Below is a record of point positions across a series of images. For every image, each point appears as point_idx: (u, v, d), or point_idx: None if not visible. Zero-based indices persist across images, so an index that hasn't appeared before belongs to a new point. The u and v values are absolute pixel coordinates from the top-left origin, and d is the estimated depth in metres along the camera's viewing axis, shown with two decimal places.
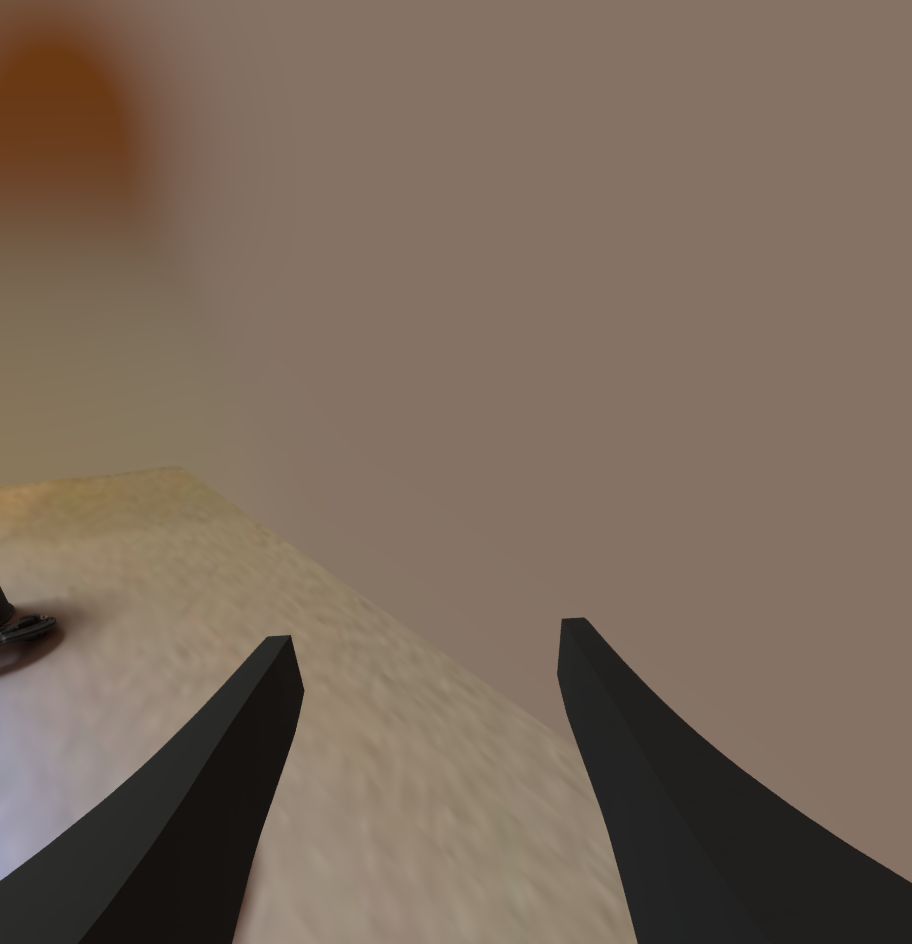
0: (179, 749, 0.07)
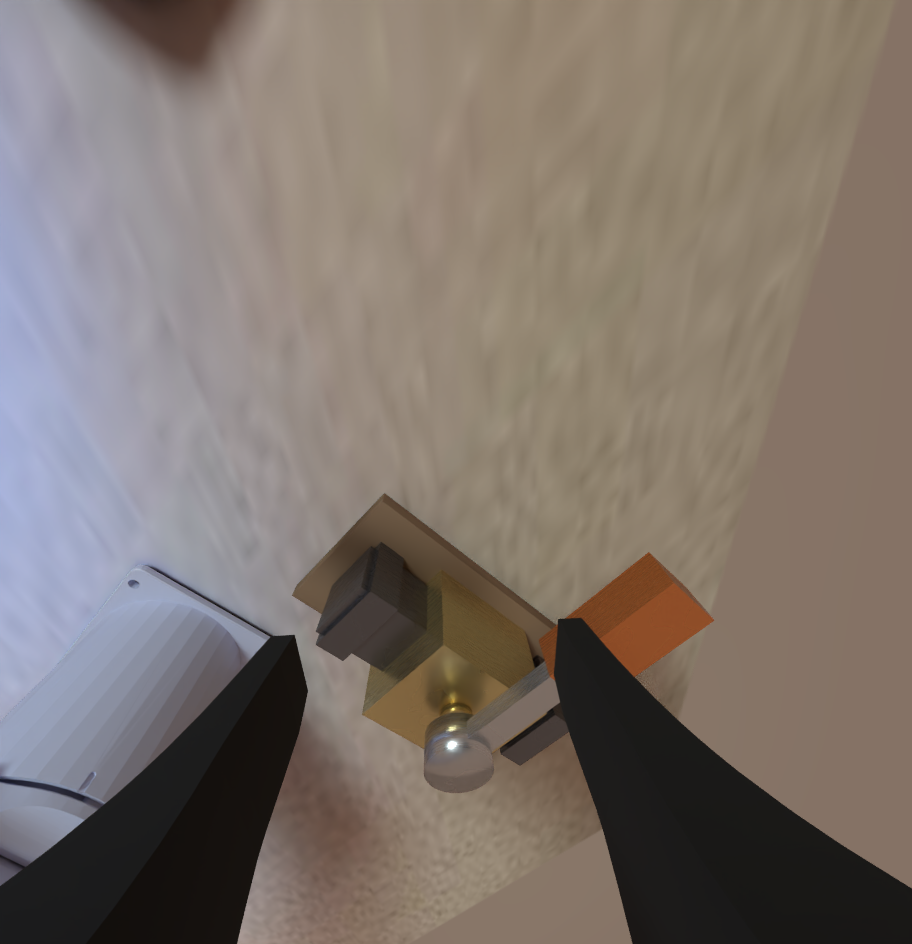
0: (184, 750, 0.07)
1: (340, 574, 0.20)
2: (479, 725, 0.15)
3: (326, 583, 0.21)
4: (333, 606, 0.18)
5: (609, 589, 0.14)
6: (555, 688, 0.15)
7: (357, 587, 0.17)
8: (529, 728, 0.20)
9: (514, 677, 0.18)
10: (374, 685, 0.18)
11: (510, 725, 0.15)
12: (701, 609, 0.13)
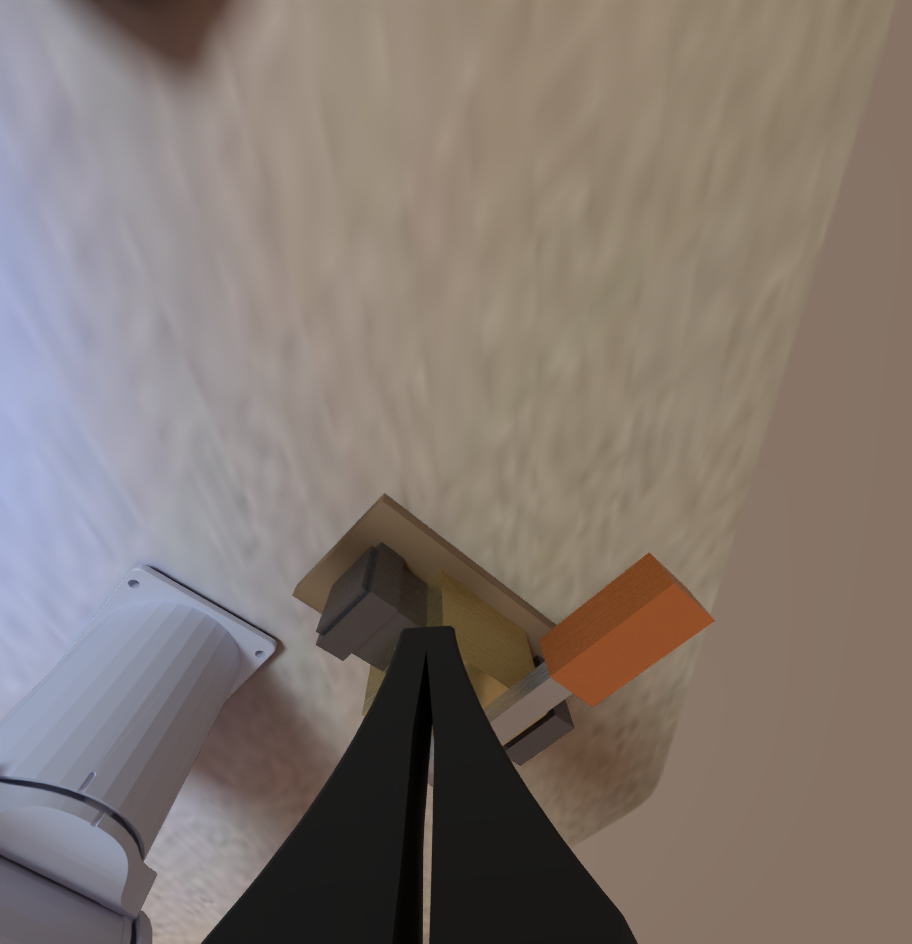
0: (377, 736, 0.08)
1: (340, 574, 0.20)
2: None
3: (326, 583, 0.21)
4: (333, 606, 0.18)
5: (609, 589, 0.14)
6: (555, 688, 0.15)
7: (357, 587, 0.17)
8: (529, 728, 0.20)
9: (514, 677, 0.18)
10: (374, 685, 0.18)
11: (510, 725, 0.15)
12: (701, 609, 0.13)
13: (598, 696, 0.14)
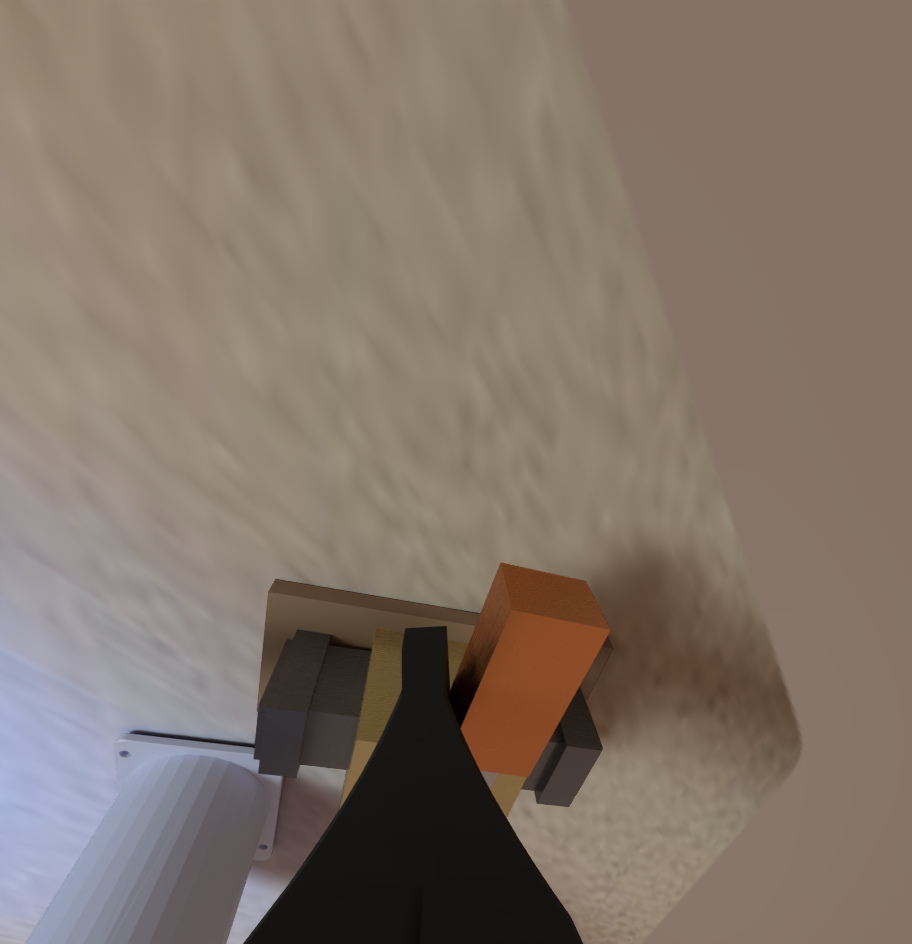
0: (405, 735, 0.08)
1: None
2: None
3: None
4: None
5: (478, 626, 0.10)
6: None
7: None
8: (551, 767, 0.17)
9: None
10: (343, 789, 0.16)
11: None
12: (581, 624, 0.09)
13: (526, 764, 0.10)
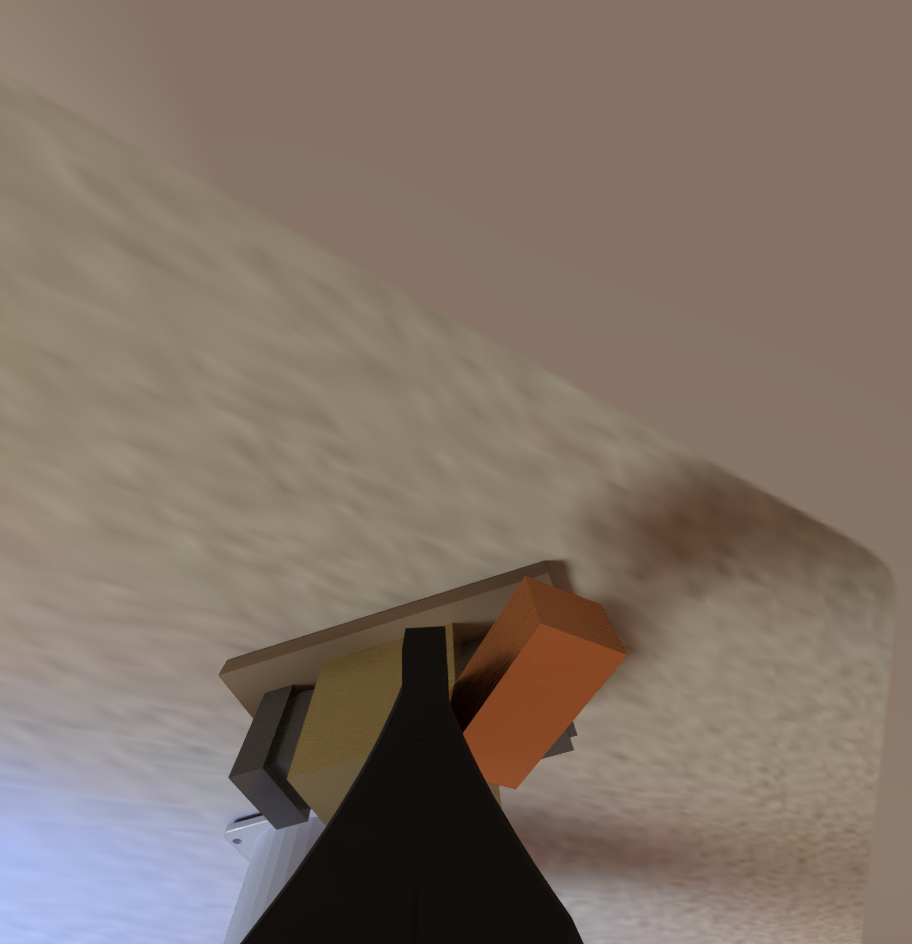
0: (403, 734, 0.08)
1: None
2: None
3: None
4: None
5: (491, 634, 0.11)
6: None
7: None
8: None
9: None
10: None
11: None
12: (601, 645, 0.09)
13: (516, 777, 0.11)
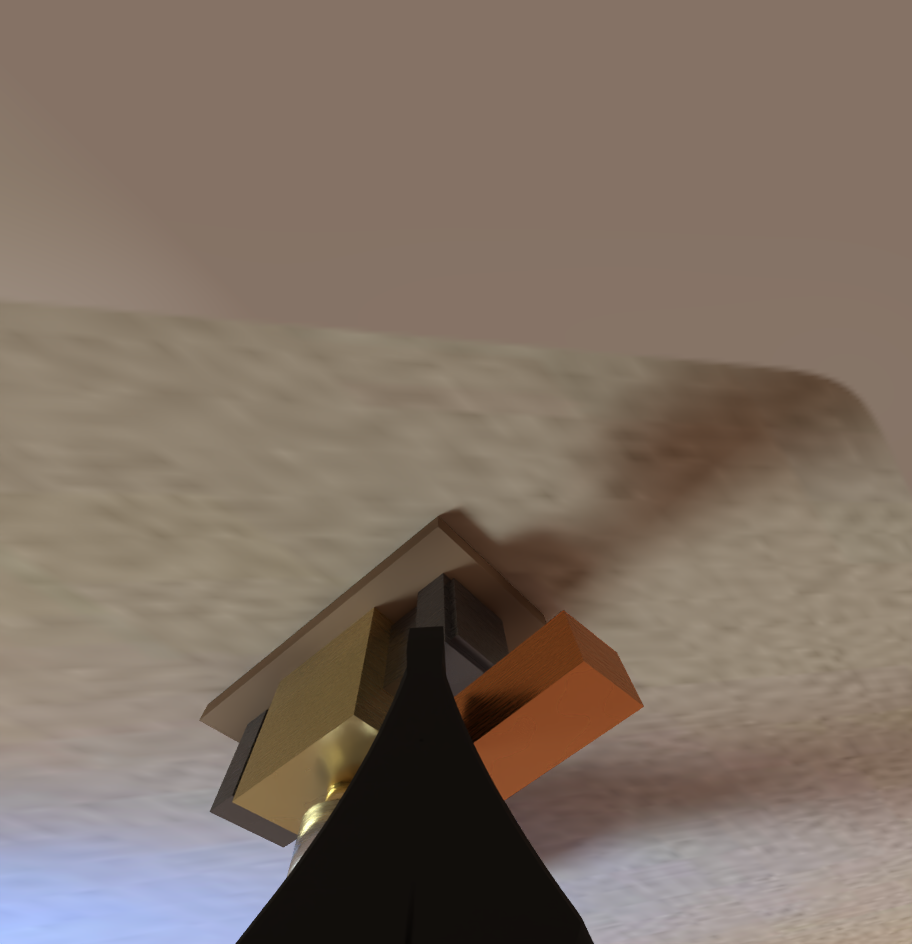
0: (400, 735, 0.08)
1: None
2: None
3: None
4: None
5: (513, 657, 0.11)
6: None
7: None
8: None
9: (320, 718, 0.14)
10: None
11: None
12: (625, 693, 0.10)
13: None
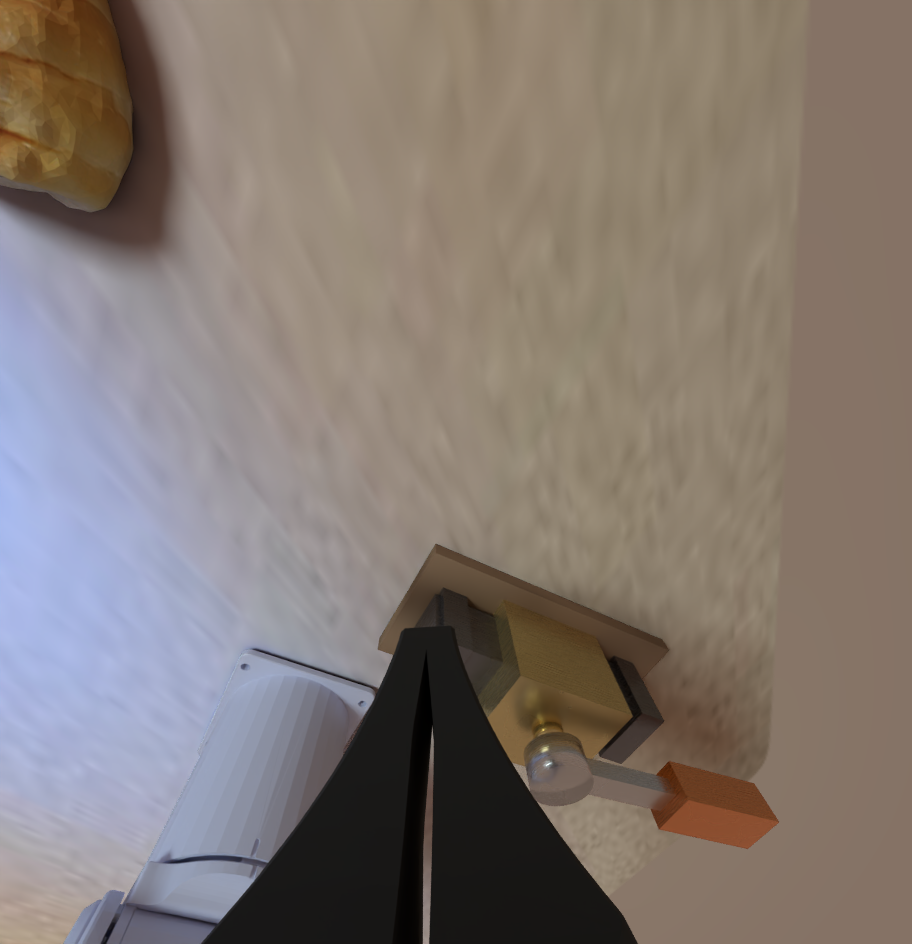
0: (377, 737, 0.08)
1: (414, 622, 0.22)
2: (601, 773, 0.18)
3: None
4: None
5: (727, 780, 0.20)
6: (658, 800, 0.18)
7: None
8: (621, 729, 0.22)
9: (594, 688, 0.19)
10: None
11: (612, 791, 0.18)
12: (755, 840, 0.19)
13: (670, 828, 0.18)
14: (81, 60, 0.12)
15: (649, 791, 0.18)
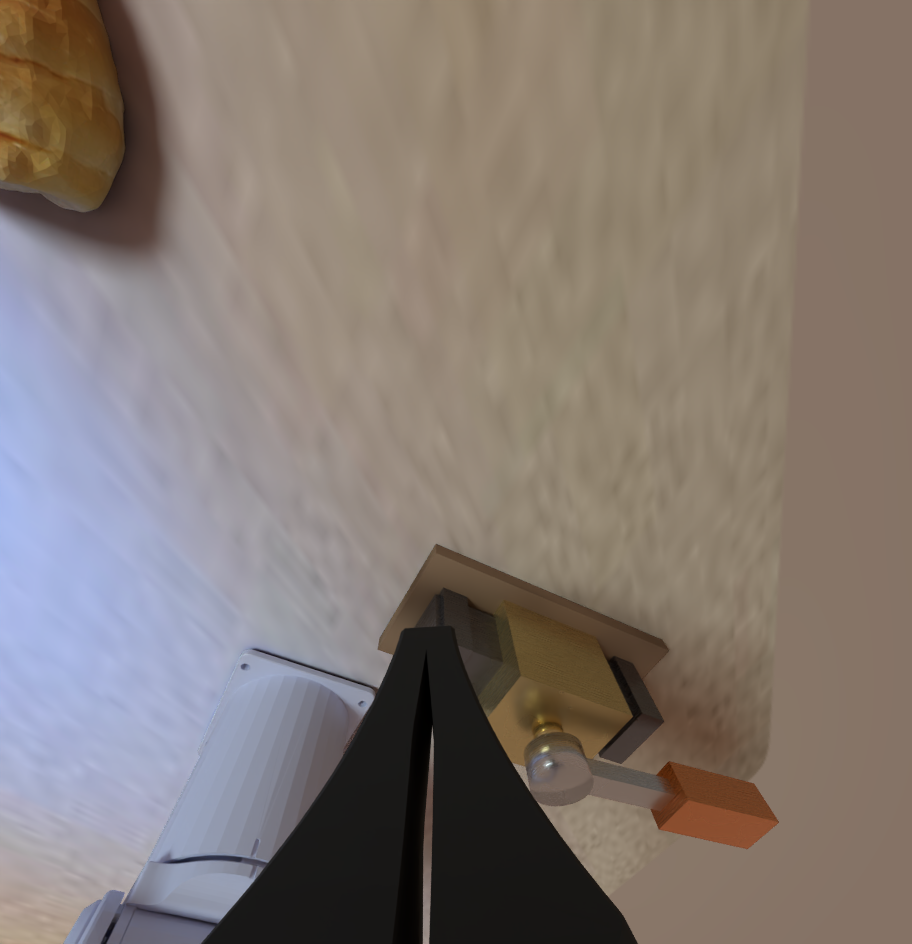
0: (377, 736, 0.08)
1: (415, 623, 0.22)
2: (601, 773, 0.18)
3: None
4: None
5: (727, 780, 0.20)
6: (658, 800, 0.18)
7: None
8: (621, 729, 0.22)
9: (594, 688, 0.19)
10: None
11: (612, 791, 0.18)
12: (755, 840, 0.19)
13: (670, 828, 0.18)
14: (70, 59, 0.12)
15: (649, 791, 0.18)
